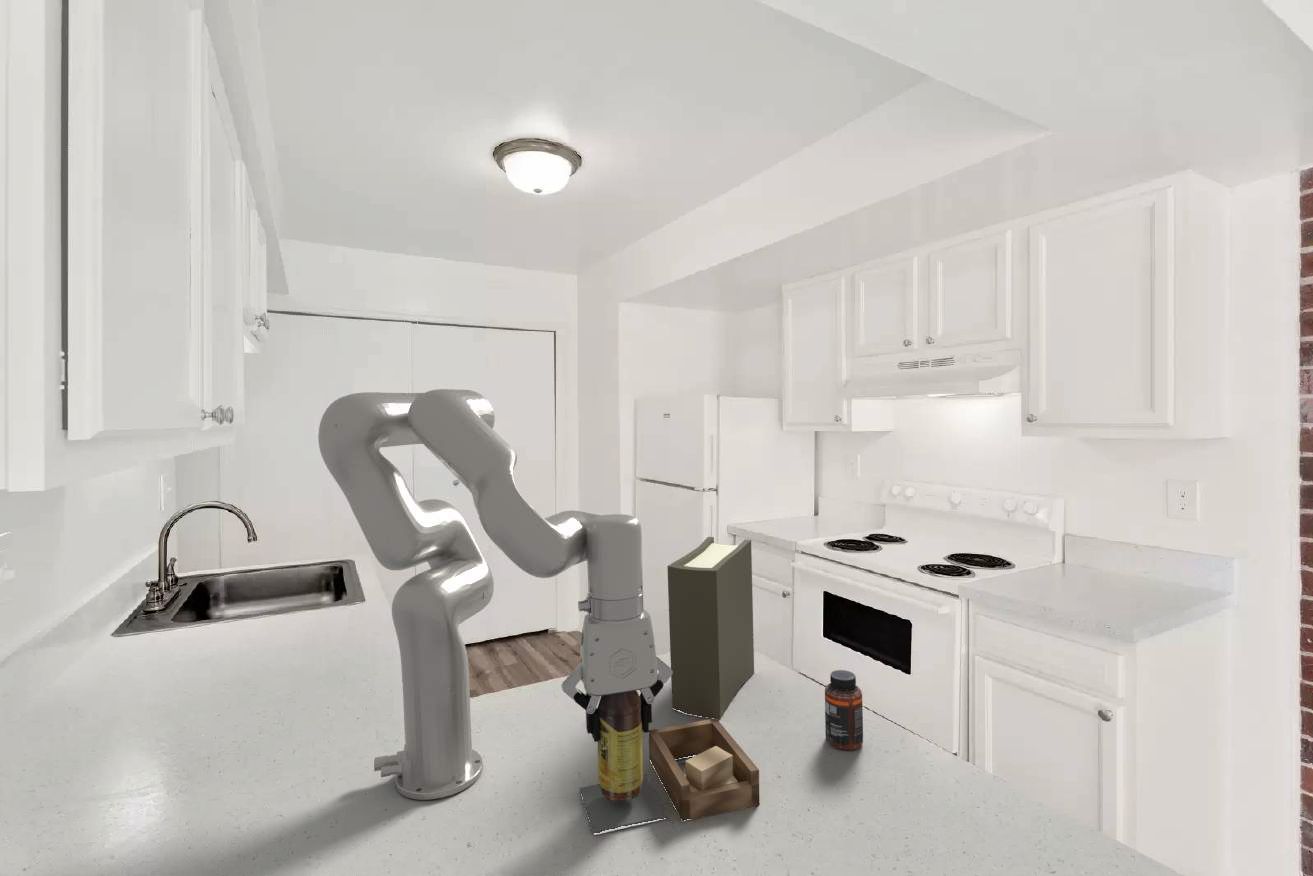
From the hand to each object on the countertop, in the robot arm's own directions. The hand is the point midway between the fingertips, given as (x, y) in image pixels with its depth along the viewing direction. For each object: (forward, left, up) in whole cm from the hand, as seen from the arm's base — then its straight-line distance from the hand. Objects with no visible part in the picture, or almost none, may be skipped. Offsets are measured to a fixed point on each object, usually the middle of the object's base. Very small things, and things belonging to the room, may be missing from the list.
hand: (619, 731), depth 89 cm
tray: (+12, +2, -11) cm, 16 cm away
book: (+25, +28, -11) cm, 39 cm away
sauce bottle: (0, 0, -9) cm, 9 cm away
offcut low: (+12, -2, -11) cm, 17 cm away
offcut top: (+12, -2, -8) cm, 15 cm away
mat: (0, 0, -11) cm, 11 cm away
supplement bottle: (+38, +4, -11) cm, 40 cm away
